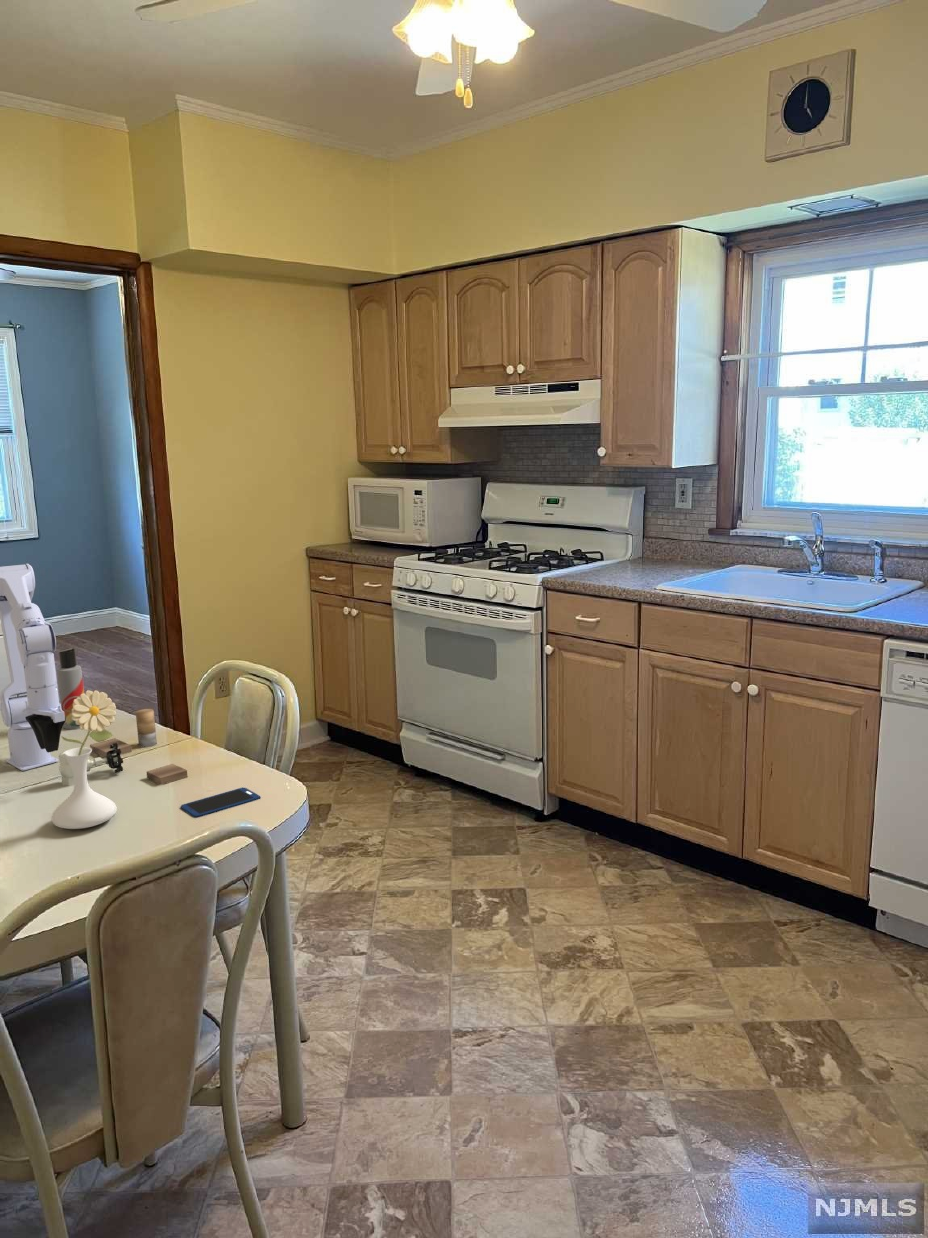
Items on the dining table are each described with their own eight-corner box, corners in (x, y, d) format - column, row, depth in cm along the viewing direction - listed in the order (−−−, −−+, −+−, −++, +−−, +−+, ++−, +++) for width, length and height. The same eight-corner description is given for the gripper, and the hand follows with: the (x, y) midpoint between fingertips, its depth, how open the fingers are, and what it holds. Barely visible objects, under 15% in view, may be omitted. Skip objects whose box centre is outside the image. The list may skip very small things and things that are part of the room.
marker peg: (135, 744, 216) (132, 711, 214) (151, 740, 218) (148, 708, 217) (143, 748, 213) (140, 715, 211) (160, 744, 216) (156, 711, 214)
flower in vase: (52, 840, 164) (35, 704, 159) (52, 817, 175) (36, 689, 170) (129, 826, 169) (115, 694, 164) (125, 804, 180) (112, 680, 175)
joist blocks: (90, 750, 212) (89, 744, 212) (115, 744, 216) (114, 738, 216) (161, 785, 189) (160, 778, 189) (187, 776, 194) (186, 770, 193)
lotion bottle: (81, 729, 228) (73, 650, 225) (59, 730, 229) (50, 651, 225) (91, 722, 234) (82, 645, 230) (69, 723, 234) (60, 646, 230)
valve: (65, 790, 188) (124, 776, 195) (61, 759, 187) (121, 746, 194) (57, 781, 194) (115, 767, 201) (53, 751, 192) (112, 739, 199)
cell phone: (262, 800, 181) (262, 796, 181) (195, 820, 172) (195, 816, 172) (244, 790, 186) (244, 786, 186) (179, 809, 177) (178, 805, 177)
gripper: (7, 683, 187) (15, 747, 190) (35, 695, 177) (43, 762, 180) (42, 676, 192) (49, 738, 195) (72, 687, 182) (79, 753, 185)
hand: (49, 749), depth 188 cm, fingers closed
